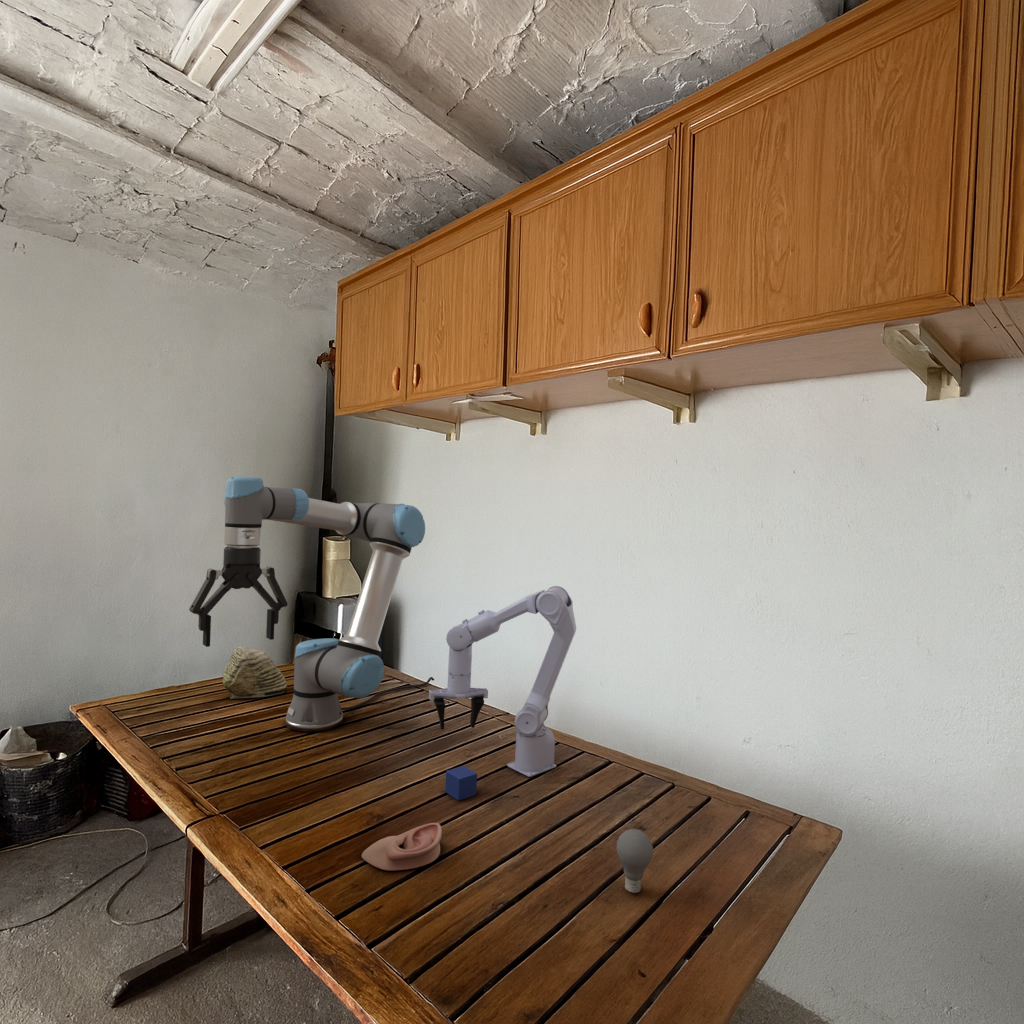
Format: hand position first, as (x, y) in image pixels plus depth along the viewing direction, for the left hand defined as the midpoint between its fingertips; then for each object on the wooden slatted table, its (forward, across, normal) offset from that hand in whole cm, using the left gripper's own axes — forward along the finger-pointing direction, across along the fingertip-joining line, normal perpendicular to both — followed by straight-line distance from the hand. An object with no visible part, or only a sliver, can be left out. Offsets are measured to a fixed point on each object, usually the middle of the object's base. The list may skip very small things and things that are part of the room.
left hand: (239, 642), depth 141 cm
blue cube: (+30, +36, -36) cm, 59 cm away
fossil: (+30, +23, +55) cm, 67 cm away
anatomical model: (+30, +14, -48) cm, 59 cm away
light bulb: (+30, +39, -80) cm, 94 cm away
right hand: (+23, +47, -19) cm, 56 cm away
